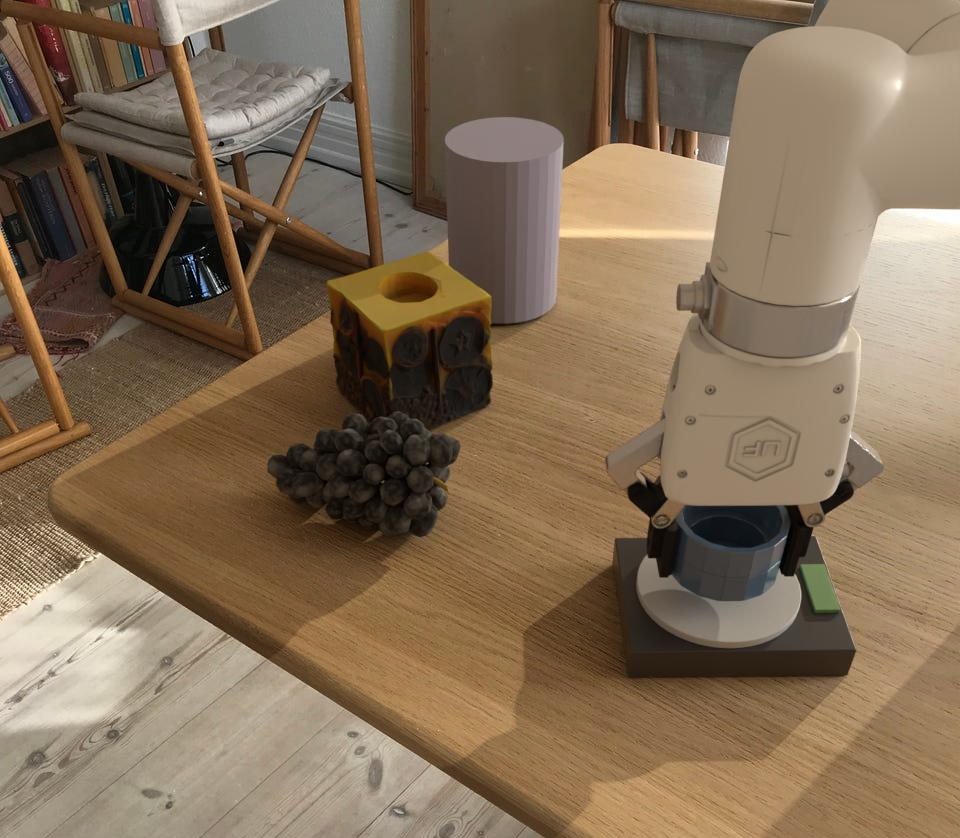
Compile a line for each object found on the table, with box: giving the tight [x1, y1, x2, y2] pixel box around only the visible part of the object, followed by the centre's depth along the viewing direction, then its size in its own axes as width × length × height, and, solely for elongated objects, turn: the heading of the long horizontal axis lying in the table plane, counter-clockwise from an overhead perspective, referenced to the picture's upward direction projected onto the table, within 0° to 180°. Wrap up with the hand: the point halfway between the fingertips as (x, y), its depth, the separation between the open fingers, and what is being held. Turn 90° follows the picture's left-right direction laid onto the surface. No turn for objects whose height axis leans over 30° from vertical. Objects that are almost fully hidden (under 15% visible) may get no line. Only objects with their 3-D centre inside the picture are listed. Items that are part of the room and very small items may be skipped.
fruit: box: [266, 411, 462, 538], centre depth 76 cm, size 9×8×15 cm
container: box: [444, 116, 565, 326], centre depth 95 cm, size 10×10×15 cm
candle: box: [325, 251, 494, 430], centre depth 85 cm, size 10×10×10 cm
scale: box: [611, 535, 857, 678], centre depth 69 cm, size 14×11×3 cm
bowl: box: [672, 505, 791, 601], centre depth 65 cm, size 7×7×4 cm
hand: (722, 561), depth 66 cm, fingers closed on bowl, 7 cm apart
